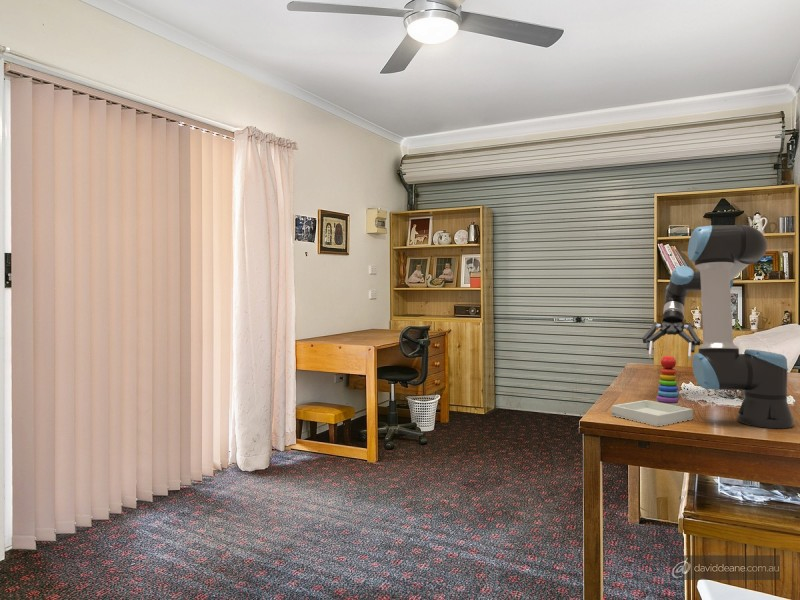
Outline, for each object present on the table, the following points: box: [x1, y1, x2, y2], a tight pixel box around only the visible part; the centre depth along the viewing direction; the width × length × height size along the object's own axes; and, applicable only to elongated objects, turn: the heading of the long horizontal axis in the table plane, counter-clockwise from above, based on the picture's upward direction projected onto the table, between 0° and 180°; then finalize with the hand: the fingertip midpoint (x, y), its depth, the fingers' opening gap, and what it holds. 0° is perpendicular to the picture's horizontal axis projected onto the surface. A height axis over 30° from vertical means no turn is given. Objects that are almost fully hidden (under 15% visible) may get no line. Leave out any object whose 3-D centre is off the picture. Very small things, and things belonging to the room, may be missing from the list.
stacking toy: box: [655, 355, 681, 407], centre depth 213 cm, size 8×8×19 cm
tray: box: [611, 399, 694, 427], centre depth 197 cm, size 18×18×4 cm
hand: (669, 357), depth 221 cm, fingers open, 13 cm apart
